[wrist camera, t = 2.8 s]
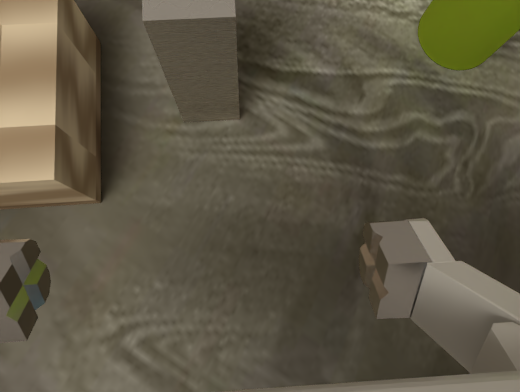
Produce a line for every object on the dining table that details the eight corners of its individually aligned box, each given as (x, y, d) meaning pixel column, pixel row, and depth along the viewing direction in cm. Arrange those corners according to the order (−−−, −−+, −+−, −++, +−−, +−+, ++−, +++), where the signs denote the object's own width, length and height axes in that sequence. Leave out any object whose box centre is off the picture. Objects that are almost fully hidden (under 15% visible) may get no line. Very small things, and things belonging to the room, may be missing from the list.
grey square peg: (239, 119, 30) (235, 16, 18) (183, 122, 29) (142, 21, 18) (236, 68, 30) (230, -63, 19) (181, 70, 30) (140, -60, 18)
